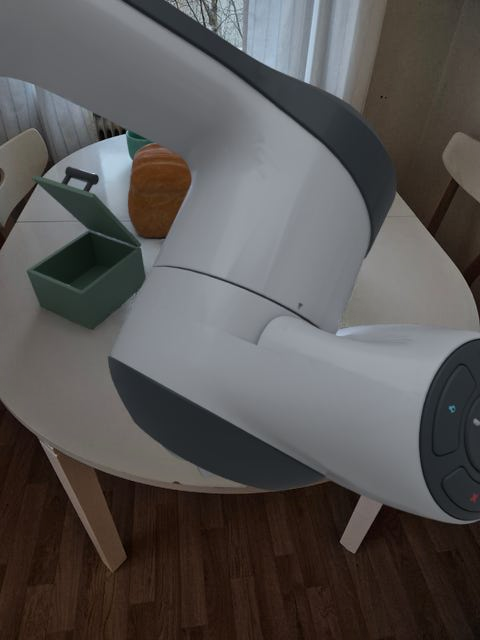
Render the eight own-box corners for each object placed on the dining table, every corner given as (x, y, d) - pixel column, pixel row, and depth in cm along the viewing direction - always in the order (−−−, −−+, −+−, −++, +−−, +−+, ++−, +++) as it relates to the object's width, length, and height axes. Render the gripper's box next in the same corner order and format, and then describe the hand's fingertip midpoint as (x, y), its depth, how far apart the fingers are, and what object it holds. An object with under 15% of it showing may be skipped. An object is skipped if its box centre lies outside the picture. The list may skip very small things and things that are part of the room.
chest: (92, 330, 81) (81, 294, 75) (40, 306, 85) (25, 270, 79) (146, 282, 91) (141, 247, 85) (97, 263, 96) (89, 229, 90)
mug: (129, 156, 138) (124, 125, 132) (168, 153, 141) (165, 123, 134) (132, 178, 127) (127, 146, 120) (174, 175, 129) (172, 143, 123)
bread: (198, 196, 120) (196, 134, 108) (203, 238, 105) (200, 171, 93) (135, 198, 118) (125, 135, 107) (130, 241, 103) (118, 173, 91)
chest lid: (92, 197, 69) (107, 171, 70) (31, 178, 73) (46, 153, 74) (140, 247, 85) (152, 225, 86) (87, 229, 90) (99, 208, 91)
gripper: (403, 312, 34) (319, 323, 47) (154, 396, 28) (136, 382, 41) (424, 387, 34) (334, 377, 47) (181, 489, 28) (155, 445, 41)
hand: (241, 380), depth 44 cm, fingers open, 8 cm apart
